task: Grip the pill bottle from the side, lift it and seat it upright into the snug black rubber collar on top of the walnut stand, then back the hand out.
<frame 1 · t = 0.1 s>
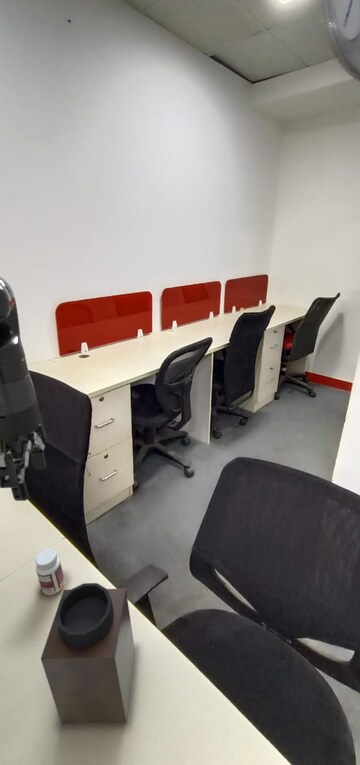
hand: (31, 482, 64), 27 cm above the table, tool pointing down, fingers open, 8 cm apart
stand: (100, 684, 58), on the table
pill bottle: (53, 585, 75), on the table
collar: (86, 620, 52), resting on stand
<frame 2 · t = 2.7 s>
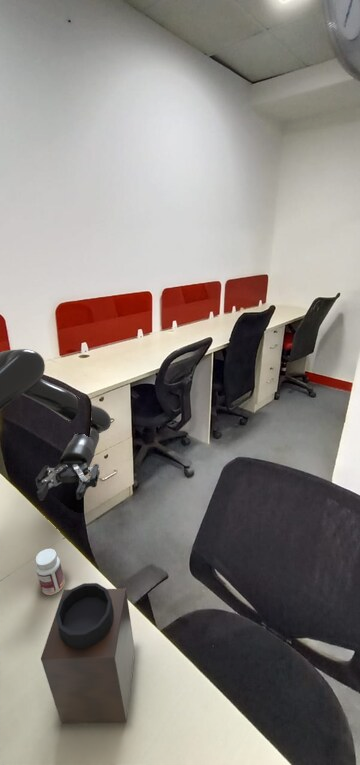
hand: (59, 497, 80), 14 cm above the table, tool horizontal, fingers open, 8 cm apart
nothing on the table moved.
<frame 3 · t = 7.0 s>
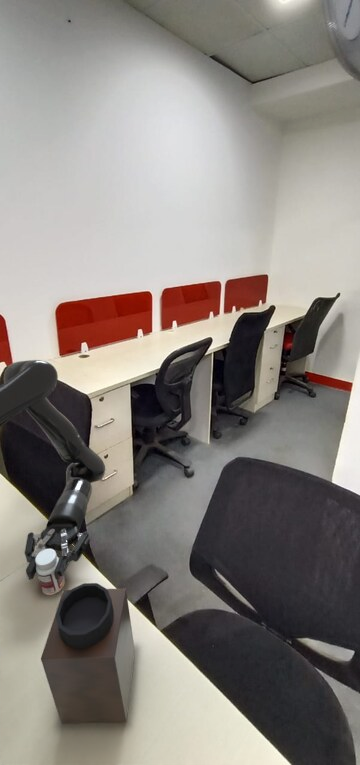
hand: (43, 576, 71), 6 cm above the table, tool horizontal, fingers closed on pill bottle, 4 cm apart
pill bottle: (53, 585, 75), on the table, touching gripper
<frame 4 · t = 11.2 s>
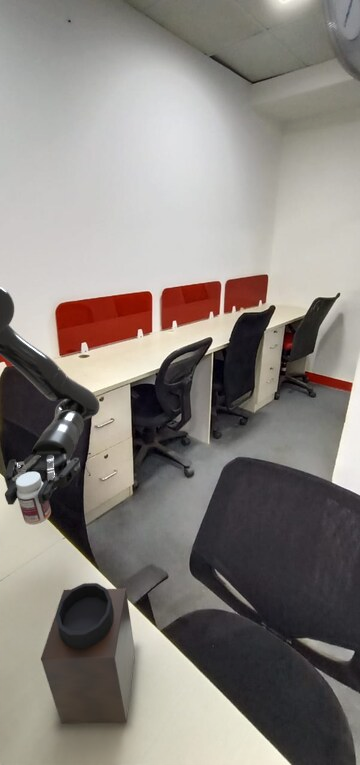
hand: (25, 500, 60), 27 cm above the table, tool horizontal, fingers closed on pill bottle, 4 cm apart
pill bottle: (37, 516, 65), point 21 cm above the table, touching gripper
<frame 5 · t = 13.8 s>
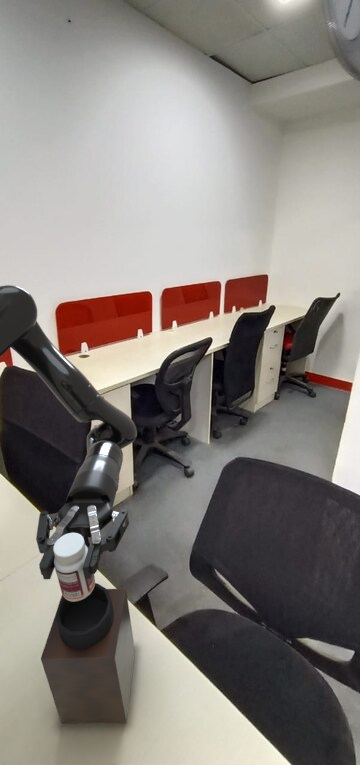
hand: (66, 574, 46), 28 cm above the table, tool horizontal, fingers closed on pill bottle, 4 cm apart
pill bottle: (78, 587, 51), point 21 cm above the table, touching gripper
when the fingers open (22 cm above the table, at t = 15.8 s): pill bottle stays where it is, resting on collar.
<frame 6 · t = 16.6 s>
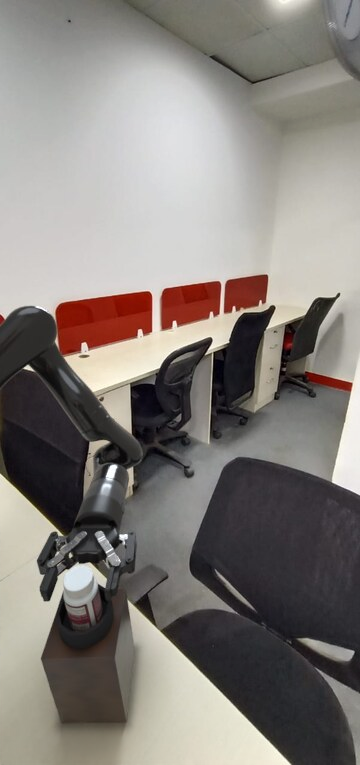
hand: (76, 597, 48), 23 cm above the table, tool horizontal, fingers open, 8 cm apart
pill bottle: (86, 618, 52), point 16 cm above the table, touching collar
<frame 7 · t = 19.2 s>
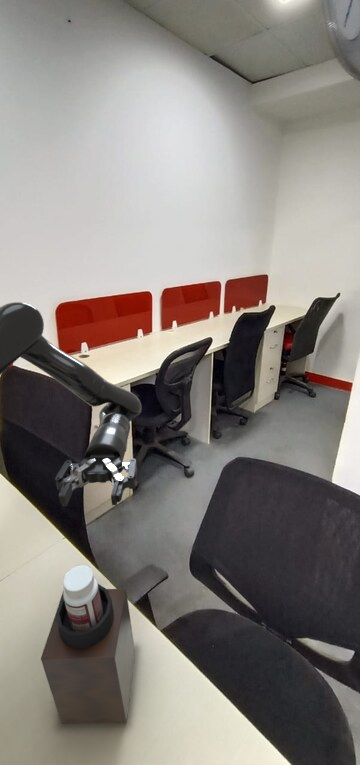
hand: (88, 501, 60), 27 cm above the table, tool horizontal, fingers open, 8 cm apart
nothing on the table moved.
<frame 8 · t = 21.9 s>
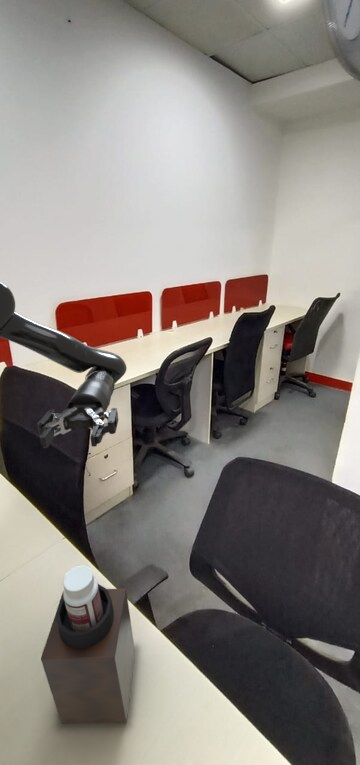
hand: (68, 442, 61), 35 cm above the table, tool horizontal, fingers open, 8 cm apart
nothing on the table moved.
at the end: pill bottle 0.1 cm off-centre on the collar, point 0.2 cm above the collar's base; pill bottle tilted 0°; the gripper is holding nothing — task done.
